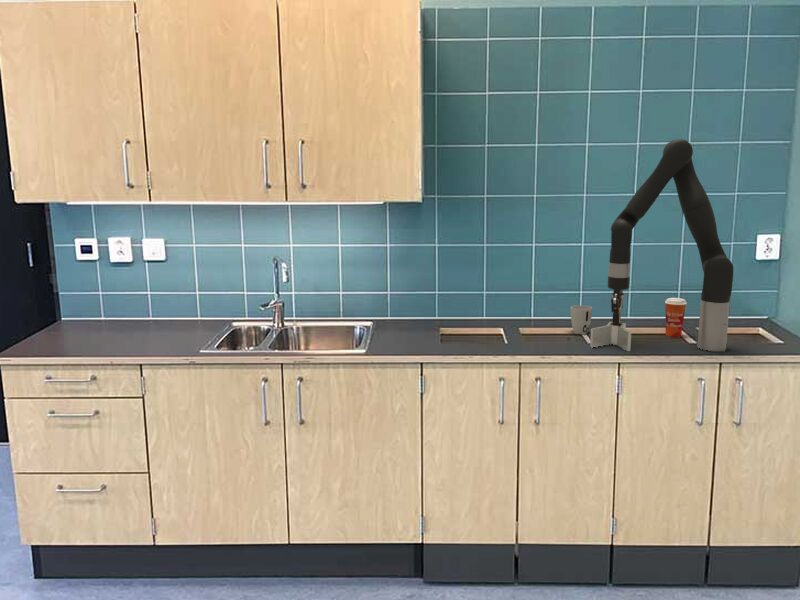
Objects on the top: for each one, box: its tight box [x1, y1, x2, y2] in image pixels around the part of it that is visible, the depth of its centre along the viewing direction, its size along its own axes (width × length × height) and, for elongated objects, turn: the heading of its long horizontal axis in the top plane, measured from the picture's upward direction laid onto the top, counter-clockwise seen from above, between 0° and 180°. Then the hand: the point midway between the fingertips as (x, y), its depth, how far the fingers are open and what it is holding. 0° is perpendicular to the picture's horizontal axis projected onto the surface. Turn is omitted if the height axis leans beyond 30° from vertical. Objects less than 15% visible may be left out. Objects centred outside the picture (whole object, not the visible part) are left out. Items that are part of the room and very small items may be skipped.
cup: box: [570, 304, 593, 335], centre depth 278 cm, size 8×8×10 cm
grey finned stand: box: [589, 321, 632, 352], centre depth 258 cm, size 14×14×7 cm
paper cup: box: [664, 297, 688, 338], centre depth 272 cm, size 8×8×14 cm
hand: (616, 322), depth 261 cm, fingers closed on pin, 2 cm apart
